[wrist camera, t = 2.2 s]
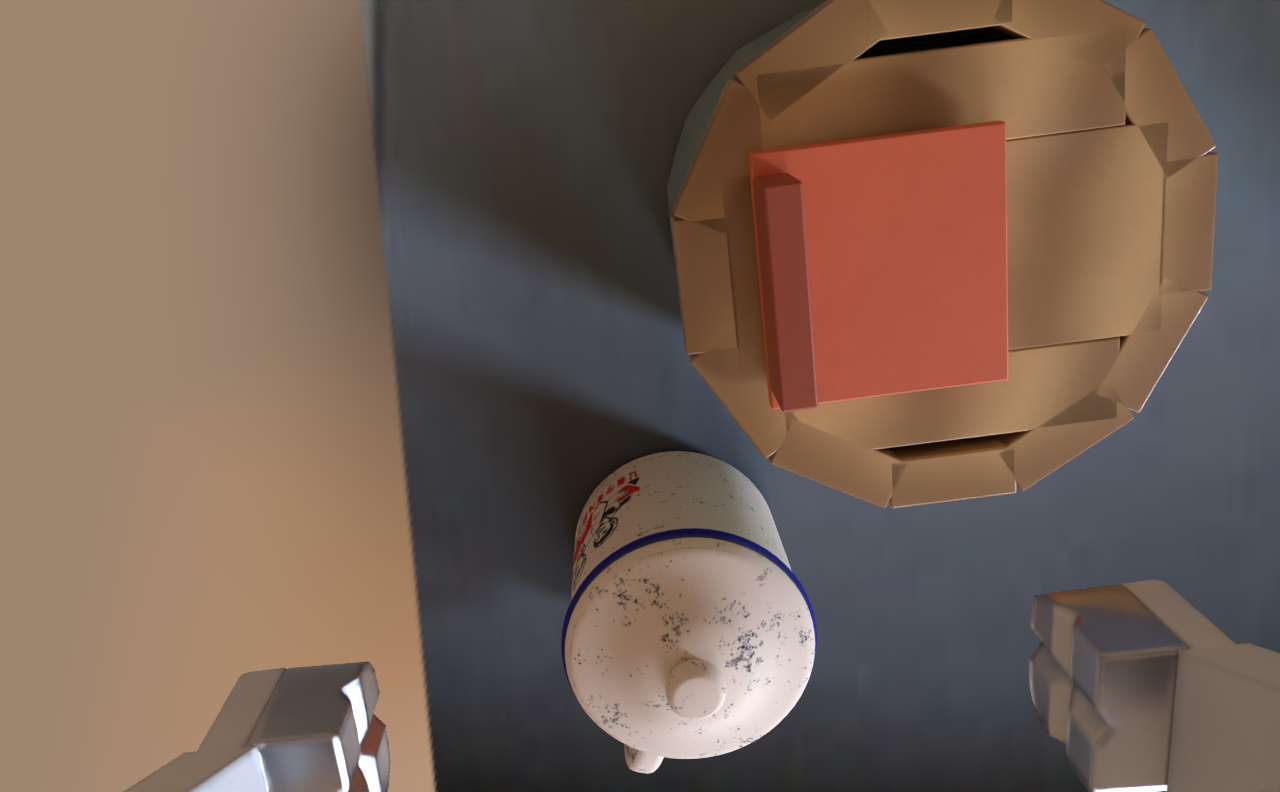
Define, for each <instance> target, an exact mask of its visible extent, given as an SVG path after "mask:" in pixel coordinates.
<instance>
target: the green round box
mask: <svg viewBox="0 0 1280 792" xmlns="http://www.w3.org/2000/svg"><path fill="white" fill-rule="evenodd" d="M816 8H818V7H816ZM816 8H812V9H808V10H805V11H803V12H801V13H799V14H797V15H796V16H794V17H792V18H791V19H789V20H787V21H785V22H784V23H782V24H780V25H778V26H776V27H774V28H772V29H770V30H768V31H767V32H765V33H764V34H762V35H761V36H759V37H758V38H756V39H755V40H753V41H751V42H750V43H748V44H746V45H745V46H743V47H741V48H739V49H738V50H737V51H735V52H734V54H733V55H732V56H731V58H730V59H729V60H728V62H727V63H726V64H725V65H724V67H723V68H722V69H721V70H720V71H719V72H718V73H717V75H716V76H715V77H714V78H713V79H712V80H711V81H710V83H709V84H708V86H707V87H706V89H705V90H704V92H703V93H702V95H701V96H700V98H699V99H698V101H697V102H696V103H695V104H694V106H693V107H692V108H691V110H690V111H689V112H688V115H687V117H686V120H685V124H684V127H683V131H682V134H681V136H680V139H679V142H678V145H677V148H676V151H675V155H674V160H673V165H672V169H671V173H670V177H669V180H668V184H667V190H666V193H667V201H668V210H669V225H670V230H671V237H672V229H671V220H670V218H671V217H672V216H675V215H674V214H673V212H672V207H673V205H674V202H675V200H676V198H677V195H678V193H679V191H680V189H681V186H682V184H683V182H684V179H685V177H686V175H687V172H688V170H689V168H690V165H691V163H692V161H693V158H694V156H695V154H696V151H697V149H698V147H699V145H700V142H701V140H702V138H703V135H704V133H705V131H706V128H707V126H708V124H709V121H710V119H711V117H712V114H713V112H714V110H715V107H716V105H717V103H718V101H719V98H720V96H721V94H722V91H723V89H724V87H725V84H726V82H727V81H728V80H733V81H736V80H735V78H734V77H733V72H735V71H736V70H737V69H739V68H740V67H741V66H743V65H744V64H745V63H746V62H748V61H749V60H750V59H752V58H753V57H754V56H755V55H757V54H758V53H759V52H761V51H762V50H763V49H765V48H766V47H767V46H768V45H770V44H771V43H772V42H774V41H775V40H776V39H777V38H779V37H780V36H781V35H783V34H784V33H785V32H787V31H788V30H789V29H790V28H792V27H793V26H794V25H796V24H797V23H798V22H800V21H801V20H802V19H803V18H805V17H806V16H807V15H809V14H810V13H811V12H812V11H814V10H815V9H816ZM1005 39H1013V37H1010V36H1008V35H1006V34H1004V33H1002V32H1000V31H998V30H996V29H994V28H992V27H983V28H975V29H967V30H959V31H951V32H943V33H935V34H927V35H920V36H912V37H904V38H896V39H888V40H880V41H878V42H877V43H876V44H874V45H873V46H872V47H871V48H869V49H868V50H867V51H865V52H864V53H863V54H861V55H860V56H859V57H857V58H863V57H871V56H879V55H887V54H895V53H903V52H911V51H918V50H926V49H934V48H942V47H950V46H958V45H966V44H974V43H981V42H989V41H997V40H1005ZM736 82H737V81H736ZM672 246H673V238H672ZM673 255H674V247H673ZM674 262H675V256H674ZM996 435H997V434H996ZM994 436H995V435H988V436H980V437H972V438H964V439H956V440H948V441H940V442H932V443H924V444H916V445H907V446H899V447H891V449H897V448H905V447H913V446H921V445H929V444H937V443H946V442H954V441H962V440H970V439H978V438H986V437H994Z"/></svg>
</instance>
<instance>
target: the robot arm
mask: <svg viewBox="0 0 1280 792" xmlns="http://www.w3.org/2000/svg"><path fill="white" fill-rule="evenodd" d="M1030 627H1031V628H1032V629H1033V631H1034V632H1035V633H1036V634H1037V636H1038V637H1039V638H1040V640H1041V641H1042V643H1041V644H1040V645H1039V647H1038V648H1037V649H1036V651H1035V652H1034V653H1033V655H1032V656H1031V657H1030V659H1029V684H1030V689H1031V694H1032V699H1033V703H1034V707H1035V709H1036V712H1037V714H1038V716H1039V719H1040V721H1041V723H1042V724H1043V726H1044V727H1045V729H1046V730H1047V732H1048V733H1049V735H1051V736H1053V737H1054V738H1056V739H1058V740H1060V741H1062V742H1064V743H1066V744H1067V755H1066V759H1067V761H1068V762H1069V764H1070V765H1071V766H1072V768H1073V769H1074V771H1075V772H1076V773H1077V775H1078V776H1079V778H1080V779H1081V781H1082V782H1083V783H1084V785H1085V786H1086V788H1087V789H1088V790H1089V792H1154V791H1167V792H1280V653H1277V652H1274V651H1271V650H1268V649H1265V648H1262V647H1259V646H1256V645H1253V644H1250V643H1245V644H1235V643H1234V642H1233V641H1231V640H1230V639H1229V638H1228V637H1227V636H1226V635H1225V634H1223V633H1222V632H1221V631H1220V630H1219V629H1218V628H1217V627H1216V626H1214V625H1213V624H1212V623H1211V622H1210V621H1209V620H1208V619H1206V618H1205V617H1204V616H1203V615H1202V614H1201V613H1200V612H1198V611H1197V610H1196V609H1195V608H1194V607H1193V606H1192V605H1191V604H1189V603H1188V602H1187V601H1186V600H1185V599H1184V598H1183V597H1181V596H1180V595H1179V594H1178V593H1177V592H1176V591H1175V590H1173V589H1172V588H1171V587H1170V586H1169V585H1168V584H1167V583H1166V582H1163V581H1159V580H1156V579H1154V580H1147V581H1140V582H1133V583H1126V584H1117V585H1109V586H1101V587H1094V588H1086V589H1078V590H1070V591H1062V592H1054V593H1046V594H1041V595H1036V596H1035V598H1034V601H1033V604H1032V608H1031V626H1030ZM378 697H379V689H378V684H377V679H376V675H375V671H374V668H373V667H372V665H371V664H370V662H358V663H346V664H334V665H322V666H311V667H298V668H289V669H285V668H280V669H272V670H263V671H255V672H248V673H245V674H243V675H241V676H240V677H239V679H238V681H237V682H236V684H235V686H234V688H233V689H232V691H231V693H230V695H229V696H228V698H227V700H226V702H225V703H224V705H223V707H222V709H221V710H220V712H219V714H218V716H217V717H216V719H215V721H214V723H213V724H212V726H211V728H210V730H209V731H208V733H207V735H206V737H205V738H204V740H203V742H202V744H201V745H200V747H199V749H198V751H197V752H188V753H183V754H182V755H180V756H179V757H177V758H176V759H174V760H172V761H171V762H169V763H168V764H166V765H165V766H163V767H161V768H160V769H158V770H157V771H155V772H154V773H152V774H150V775H149V776H147V777H146V778H144V779H143V780H141V781H139V782H138V783H137V784H135V785H133V786H132V787H130V788H129V789H127V790H125V791H124V792H388V787H389V773H390V754H389V742H388V736H387V731H386V725H385V724H384V723H382V721H381V720H379V719H378V718H377V717H376V716H375V715H374V714H373V713H374V710H375V706H376V703H377V700H378Z"/></svg>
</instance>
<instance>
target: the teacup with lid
mask: <svg viewBox="0 0 1280 792" xmlns="http://www.w3.org/2000/svg"><path fill="white" fill-rule="evenodd" d="M561 645H562V659H563V665H564V669H565V673H566V676H567V679H568V682H569V684H570V687H571V689H572V691H573V692H574V694H575V696H576V698H577V699H578V701H579V703H580V704H581V706H582V707H583V709H584V710H585V711H586V713H587V714H588V715H589V716H590V718H591V719H592V720H593V721H594V722H595V723H596V724H597V725H598V726H599V727H601V728H602V729H603V730H604V731H606V732H607V733H608V734H609V735H611V736H612V737H614V738H615V739H617V740H619V741H620V742H622V743H624V744H625V758H626V763H627V765H628V767H629V768H630V769H631V770H633V771H636V772H641V773H652V772H654V771H655V770H656V769H657V768H658V767H659V766H660V764H661V762H662V760H663V758H664V757H668V758H678V759H696V758H706V757H711V756H717V755H721V754H724V753H728V752H731V751H734V750H736V749H739V748H742V747H744V746H746V745H748V744H750V743H752V742H754V741H755V740H757V739H759V738H760V737H762V736H763V735H765V734H766V733H768V732H769V731H770V730H771V729H773V728H774V727H775V726H776V725H777V724H779V723H780V722H781V720H782V719H783V718H784V717H785V716H786V715H787V714H788V713H789V712H790V711H791V709H792V708H793V707H794V706H795V704H796V703H797V701H798V700H799V698H800V696H801V695H802V693H803V691H804V689H805V687H806V685H807V682H808V680H809V677H810V674H811V671H812V667H813V663H814V660H815V654H816V645H817V632H816V623H815V617H814V613H813V609H812V606H811V603H810V601H809V598H808V596H807V594H806V592H805V590H804V588H803V586H802V585H801V583H800V582H799V580H798V579H797V577H796V576H795V575H794V573H793V572H792V570H791V568H790V565H789V562H788V559H787V556H786V554H785V551H784V548H783V545H782V543H781V540H780V537H779V534H778V531H777V529H776V526H775V523H774V520H773V517H772V515H771V512H770V510H769V507H768V505H767V503H766V501H765V499H764V498H763V496H762V494H761V493H760V492H759V490H758V489H757V488H756V486H755V485H754V484H753V483H752V482H751V481H750V480H749V479H748V478H747V477H746V476H745V475H744V474H742V473H741V472H740V471H739V470H737V469H736V468H734V467H733V466H731V465H729V464H728V463H725V462H723V461H721V460H719V459H717V458H714V457H711V456H708V455H704V454H700V453H694V452H685V451H669V452H660V453H655V454H651V455H647V456H644V457H641V458H638V459H636V460H633V461H631V462H629V463H627V464H625V465H623V466H622V467H620V468H619V469H617V470H615V471H614V472H613V473H611V474H610V475H609V476H608V477H606V478H605V479H604V480H603V481H602V482H601V483H600V484H599V485H598V487H597V488H596V489H595V490H594V491H593V493H592V494H591V496H590V497H589V499H588V500H587V502H586V504H585V506H584V508H583V510H582V513H581V515H580V518H579V521H578V524H577V529H576V534H575V547H574V563H573V578H572V594H571V603H570V605H569V608H568V610H567V614H566V617H565V620H564V625H563V630H562V642H561Z"/></svg>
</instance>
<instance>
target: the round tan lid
mask: <svg viewBox="0 0 1280 792" xmlns="http://www.w3.org/2000/svg"><path fill="white" fill-rule="evenodd" d="M1144 26H1145V22H1144V21H1143V20H1140V19H1138V18H1136V17H1134V16H1132V15H1130V14H1128V13H1126V12H1124V11H1122V10H1120V9H1118V8H1116V7H1114V6H1112V5H1110V4H1108V3H1106V2H1104V1H1102V0H827V1H825V2H824V3H823V4H822V5H820V6H819V7H818V8H816V9H815V10H814V11H812V12H811V13H810V14H809V15H807V16H806V17H805V18H803V19H802V20H801V21H800V22H798V23H797V24H796V25H794V26H793V27H792V28H790V29H789V30H788V31H787V32H785V33H784V34H783V35H781V36H780V37H779V38H777V39H776V40H775V41H774V42H772V43H771V44H770V45H768V46H767V47H766V48H765V49H763V50H762V51H761V52H759V53H758V54H757V55H755V56H754V57H753V58H752V59H750V60H749V61H748V62H746V63H745V64H744V65H743V66H741V67H740V68H739V69H737V70H736V71H735V72H733V77H734V78H735V80H736V81H737V82H736V81H733V80H728V81H727V82H726V84H725V87H724V89H723V91H722V94H721V96H720V98H719V101H718V103H717V105H716V107H715V110H714V112H713V114H712V117H711V119H710V121H709V124H708V126H707V128H706V131H705V133H704V135H703V138H702V140H701V142H700V145H699V147H698V149H697V151H696V154H695V156H694V158H693V161H692V163H691V165H690V168H689V170H688V172H687V175H686V177H685V179H684V182H683V184H682V186H681V189H680V191H679V193H678V195H677V198H676V200H675V202H674V205H673V207H672V212H673V214H674V215H675V216H672V217H671V218H670V220H671V229H672V238H673V247H674V256H675V265H676V274H677V283H678V292H679V301H680V310H681V319H682V328H683V337H684V346H685V349H686V353H687V354H688V355H689V358H690V362H691V364H692V365H693V366H694V368H695V369H696V370H697V371H698V373H699V374H700V375H701V377H702V378H703V379H704V381H705V382H706V383H707V384H708V386H709V387H710V388H711V390H712V391H713V392H714V394H715V395H716V396H717V397H718V399H719V400H720V401H721V403H722V404H723V405H724V407H725V408H726V409H727V410H728V412H729V413H730V414H731V416H732V417H733V418H734V420H735V421H736V422H737V423H738V425H739V426H740V427H741V429H742V430H743V431H744V433H745V434H746V435H747V436H748V438H749V439H750V440H751V442H752V443H753V444H754V446H755V447H756V448H757V449H758V451H759V452H760V453H761V455H762V456H763V457H764V458H769V461H770V463H771V464H773V465H776V466H778V467H781V468H783V469H786V470H788V471H791V472H793V473H796V474H799V475H801V476H804V477H806V478H809V479H811V480H814V481H816V482H819V483H821V484H824V485H826V486H829V487H832V488H834V489H837V490H839V491H842V492H844V493H847V494H849V495H852V496H854V497H857V498H859V499H862V500H865V501H867V502H870V503H872V504H875V505H877V506H880V507H882V508H885V507H886V505H887V503H888V504H889V506H890V507H891V508H899V507H907V506H915V505H923V504H931V503H940V502H948V501H956V500H964V499H972V498H980V497H988V496H996V495H1004V494H1012V493H1016V491H1017V486H1018V487H1019V488H1020V489H1021V490H1022V491H1024V490H1026V489H1027V488H1029V487H1030V486H1032V485H1033V484H1035V483H1036V482H1038V481H1039V480H1041V479H1043V478H1044V477H1046V476H1047V475H1049V474H1050V473H1052V472H1053V471H1055V470H1056V469H1058V468H1059V467H1061V466H1062V465H1064V464H1065V463H1067V462H1068V461H1070V460H1072V459H1073V458H1075V457H1076V456H1078V455H1079V454H1081V453H1082V452H1084V451H1085V450H1087V449H1088V448H1090V447H1091V446H1093V445H1094V444H1096V443H1097V442H1099V441H1100V440H1102V439H1104V438H1105V437H1107V436H1108V435H1110V434H1111V433H1113V432H1114V431H1116V430H1117V429H1119V428H1120V427H1122V426H1123V425H1125V424H1126V423H1128V422H1129V421H1131V420H1133V419H1134V416H1133V415H1132V413H1131V412H1130V410H1131V411H1133V412H1136V413H1139V412H1140V411H1141V409H1142V407H1143V406H1144V404H1145V402H1146V401H1147V399H1148V397H1149V396H1150V394H1151V392H1152V391H1153V389H1154V387H1155V386H1156V384H1157V382H1158V381H1159V379H1160V377H1161V376H1162V374H1163V372H1164V371H1165V369H1166V367H1167V366H1168V364H1169V362H1170V361H1171V359H1172V357H1173V356H1174V354H1175V352H1176V351H1177V349H1178V347H1179V345H1180V344H1181V342H1182V340H1183V339H1184V337H1185V335H1186V334H1187V332H1188V330H1189V329H1190V327H1191V325H1192V324H1193V322H1194V320H1195V319H1196V317H1197V315H1198V314H1199V312H1200V310H1201V309H1202V307H1203V305H1204V304H1205V302H1206V300H1207V299H1208V295H1207V294H1205V293H1203V292H1200V291H1206V290H1210V289H1211V284H1212V265H1213V245H1214V226H1215V207H1216V188H1217V169H1218V153H1215V152H1209V151H1211V150H1212V149H1214V148H1215V147H1216V145H1215V143H1214V141H1213V139H1212V137H1211V135H1210V134H1209V132H1208V130H1207V128H1206V126H1205V125H1204V123H1203V121H1202V119H1201V117H1200V116H1199V114H1198V112H1197V110H1196V108H1195V107H1194V105H1193V103H1192V101H1191V99H1190V98H1189V96H1188V94H1187V92H1186V90H1185V89H1184V87H1183V85H1182V83H1181V81H1180V79H1179V78H1178V76H1177V74H1176V72H1175V70H1174V69H1173V67H1172V65H1171V63H1170V61H1169V60H1168V58H1167V56H1166V54H1165V52H1164V51H1163V49H1162V47H1161V45H1160V43H1159V42H1158V40H1157V38H1156V36H1155V34H1154V33H1153V31H1152V29H1151V28H1143V27H1144ZM983 27H992V28H994V29H996V30H998V31H1000V32H1002V33H1004V34H1006V35H1008V36H1010V37H1013V39H1005V40H997V41H989V42H981V43H974V44H966V45H958V46H950V47H942V48H934V49H926V50H918V51H911V52H903V53H895V54H887V55H879V56H871V57H863V58H857V57H859V56H860V55H861V54H863V53H864V52H865V51H867V50H868V49H869V48H871V47H872V46H873V45H874V44H876V43H877V42H878V41H880V40H888V39H896V38H904V37H912V36H920V35H927V34H935V33H943V32H951V31H959V30H967V29H975V28H983ZM989 121H1003V122H1005V123H1006V180H1007V277H1008V374H1009V378H1008V380H1004V381H996V382H988V383H980V384H972V385H964V386H956V387H948V388H940V389H932V390H924V391H916V392H908V393H900V394H892V395H884V396H876V397H868V398H860V399H852V400H844V401H836V402H827V403H819V404H818V406H817V407H816V408H811V409H803V410H795V411H787V412H783V411H782V410H781V408H779V409H772V407H771V405H770V403H769V396H768V384H767V373H766V361H765V349H764V338H763V326H762V315H761V303H760V292H759V280H758V268H757V257H756V245H755V234H754V222H753V211H752V199H751V187H750V176H749V164H748V153H749V152H752V151H760V150H767V149H775V148H783V147H791V146H799V145H807V144H815V143H823V142H831V141H839V140H847V139H855V138H862V137H870V136H878V135H886V134H894V133H902V132H910V131H918V130H926V129H934V128H942V127H950V126H957V125H965V124H973V123H981V122H989ZM996 434H997V435H996ZM988 435H995V436H994V437H986V438H978V439H970V440H962V441H954V442H946V443H937V444H929V445H921V446H913V447H905V448H897V449H891V447H899V446H907V445H916V444H924V443H932V442H940V441H948V440H956V439H964V438H972V437H980V436H988Z"/></svg>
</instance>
